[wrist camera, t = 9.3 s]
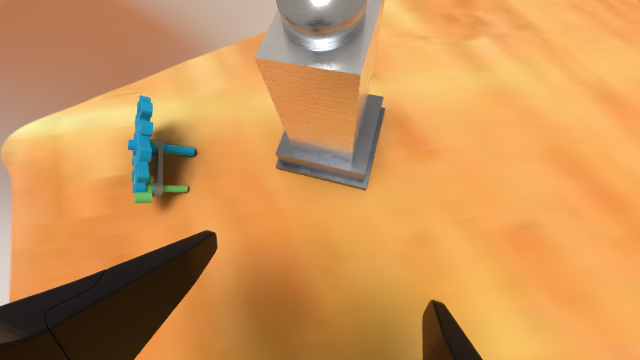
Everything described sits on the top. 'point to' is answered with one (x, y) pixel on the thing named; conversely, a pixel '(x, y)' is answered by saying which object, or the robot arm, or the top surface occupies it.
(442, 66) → the top surface
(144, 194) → the gear
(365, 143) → the stand
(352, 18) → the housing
